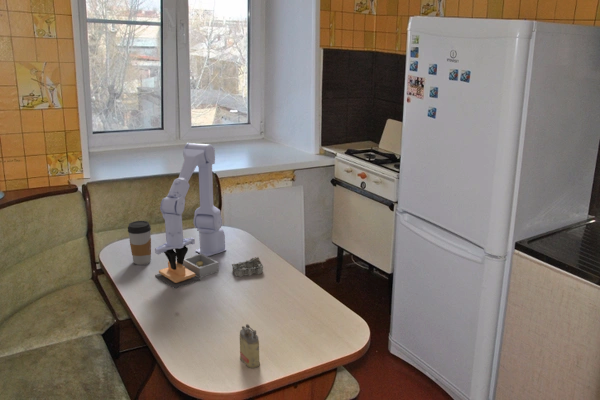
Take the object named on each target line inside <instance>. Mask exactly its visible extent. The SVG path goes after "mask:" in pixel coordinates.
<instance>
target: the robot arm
mask: <svg viewBox="0 0 600 400" xmlns="http://www.w3.org/2000/svg"><path fill="white" fill-rule="evenodd" d="M215 152H216V150H215V147H214V146H213V145H212V144H211V143H208V144H207V143H206V144H205V143H194V142H186V144H184V146H183V151H182V155H183V163H182V166H181V169H180V172H179V176H178V178H175V179H174V180H173V181H172V184H171V186H170V189H169V191H168V194H167V195H166V197H163V198H162V199H161V202H160V206H159V209H160V213H161V214H162V219H164V226H165V229H164V230H165V240H166V241H165V243H163V244H160V245H159V246H156V247H154V253H155V254H156V255H158V256H159V255H161V254H162V253H163V254H164V255H165V256H166V258H167V260H168V261H169V263H170V265H171V268H172V269H173V270H175V269H176V262H178V263H179V264H181V265H183V261H184V259H185V258H186V254H187V253H188V251H189V248H188V247H187V246H190V245H195V244H196V241H195V238H194V237H186V238H185V237H184V231H183V212H184V211H185V203H186V196H187V194H188V191H189V189H190V183H189V181H190V179H191V177H192V176H193V173H194V172H195V169H196V168H197V167H198V187H199V188H198V189H199V207H197V208H196V209H195V211H194V215H193V216H194V217H193V226H194V228H195V229H196V230H197V231H198V236H199V248H198V249H197V248H196V249H195V252H196V253H198V254H203V255H205V256H207V257H210V256H212V255H216V254H219V253H222V252H223V253H224V252H225V251H227V248H226V235H225V231H224V229H223V228H222V225H223V218H222V213H221V210H220V208H218V207H216V206H215V205H214V186H213V185H214V184H213V181H214V180H213V179H214V177H213V165H215V164H216V153H215Z"/></svg>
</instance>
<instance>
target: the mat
mask: <svg viewBox="0 0 600 400" xmlns="http://www.w3.org/2000/svg"><path fill="white" fill-rule="evenodd" d="M154 276H155V277H156V278H157V279H158V280H160V281H161V282H163V283H165V284H167V285H168V286H170V287H172V288H173V289H178V288H181V287H184V286H187V285H189V284H192V283H195V282H198V281H200V280H201V278H200V277H198V276H194V277H191V278H190V279H187V280H184V281H181V282H178V283H175V282H173V281H171V280H170V279H168V278H166V277H165V276H163V275H161V274H160V273H157V274H155V275H154Z"/></svg>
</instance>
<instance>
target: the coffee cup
mask: <svg viewBox="0 0 600 400" xmlns="http://www.w3.org/2000/svg"><path fill="white" fill-rule="evenodd" d="M151 231H152V228H151V224H150V222H149V221H148V220H147V221H146V220H135V221H131V222H130V223H129V224H128V227H127V232H128V237H129V244H130V245H129V246H130V251H131V256H132V262H133V263H134V264H135V265H137V266H143V265H148V264H149V263H150V262H151V260H152V236H151V235H152V233H151Z"/></svg>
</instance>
